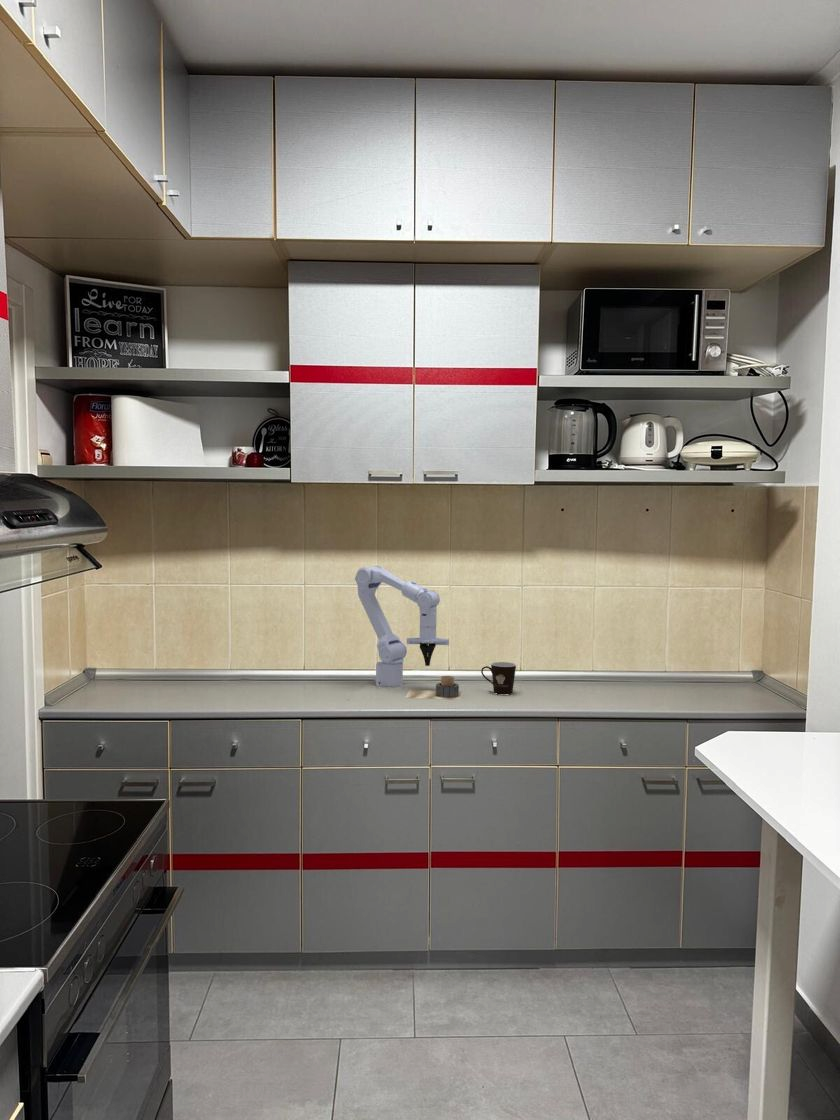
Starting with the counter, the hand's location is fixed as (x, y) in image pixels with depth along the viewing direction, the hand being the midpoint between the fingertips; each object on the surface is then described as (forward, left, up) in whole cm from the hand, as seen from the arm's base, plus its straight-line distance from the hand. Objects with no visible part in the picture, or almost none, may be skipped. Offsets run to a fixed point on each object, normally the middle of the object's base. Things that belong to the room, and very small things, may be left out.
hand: (427, 665), depth 280 cm
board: (+3, -8, -9) cm, 12 cm away
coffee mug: (+25, +4, -10) cm, 27 cm away
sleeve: (+8, -8, -9) cm, 14 cm away
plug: (+8, -8, -8) cm, 14 cm away
